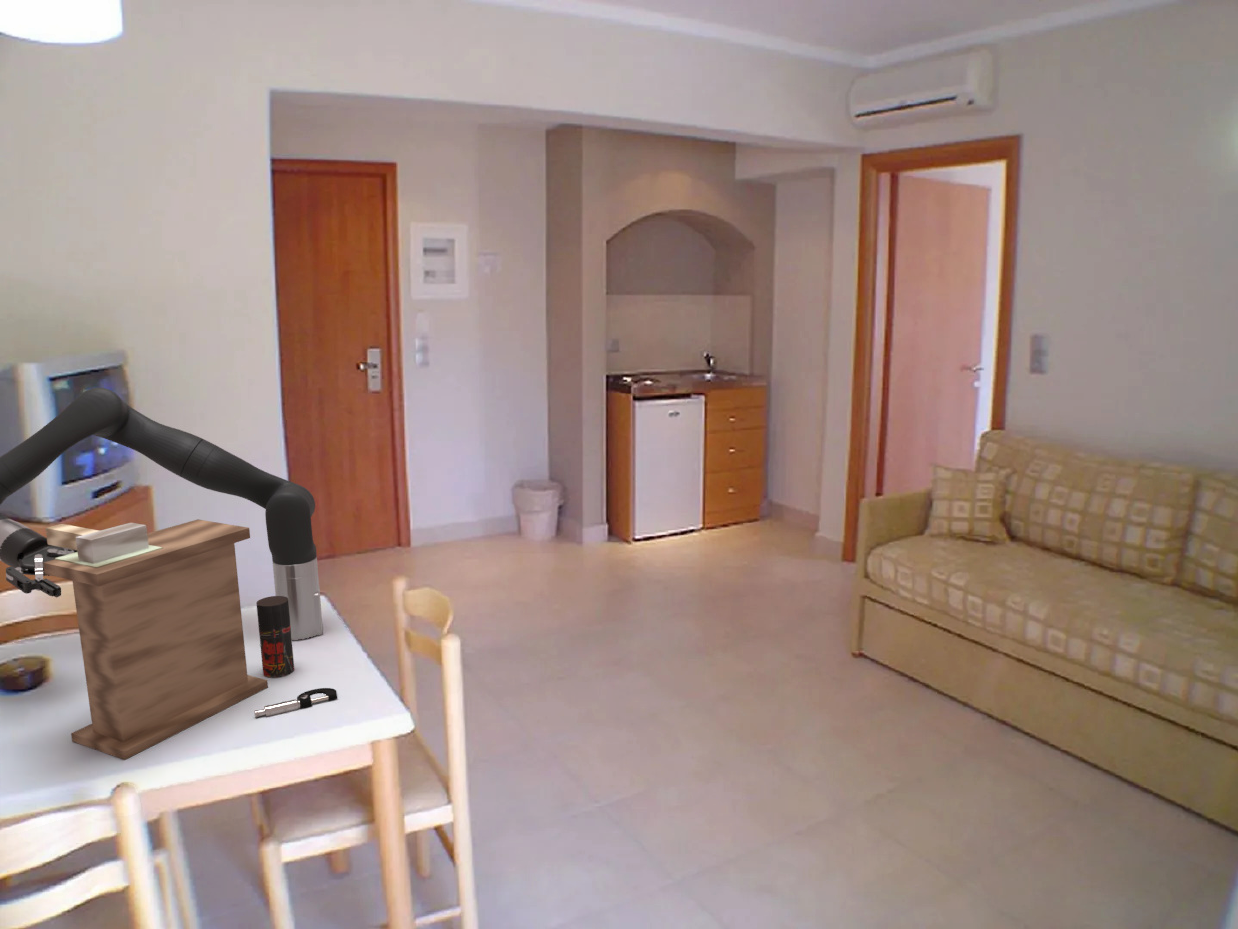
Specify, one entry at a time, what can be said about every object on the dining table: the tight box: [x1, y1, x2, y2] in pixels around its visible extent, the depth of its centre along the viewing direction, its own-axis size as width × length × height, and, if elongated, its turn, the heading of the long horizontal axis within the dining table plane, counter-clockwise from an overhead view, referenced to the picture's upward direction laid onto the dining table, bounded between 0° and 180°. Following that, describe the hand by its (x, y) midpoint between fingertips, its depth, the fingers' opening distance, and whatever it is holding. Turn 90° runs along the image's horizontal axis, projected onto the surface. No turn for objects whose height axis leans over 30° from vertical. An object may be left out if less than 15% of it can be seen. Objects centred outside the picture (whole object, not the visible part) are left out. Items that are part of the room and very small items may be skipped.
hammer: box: [44, 522, 149, 564], centre depth 157 cm, size 18×10×4 cm, turn 63°
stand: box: [43, 519, 269, 761], centre depth 164 cm, size 15×30×32 cm, turn 153°
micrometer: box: [254, 687, 338, 719], centre depth 171 cm, size 15×7×2 cm, turn 120°
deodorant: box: [256, 595, 295, 679], centre depth 183 cm, size 6×6×15 cm
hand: (80, 582), depth 169 cm, fingers open, 8 cm apart
